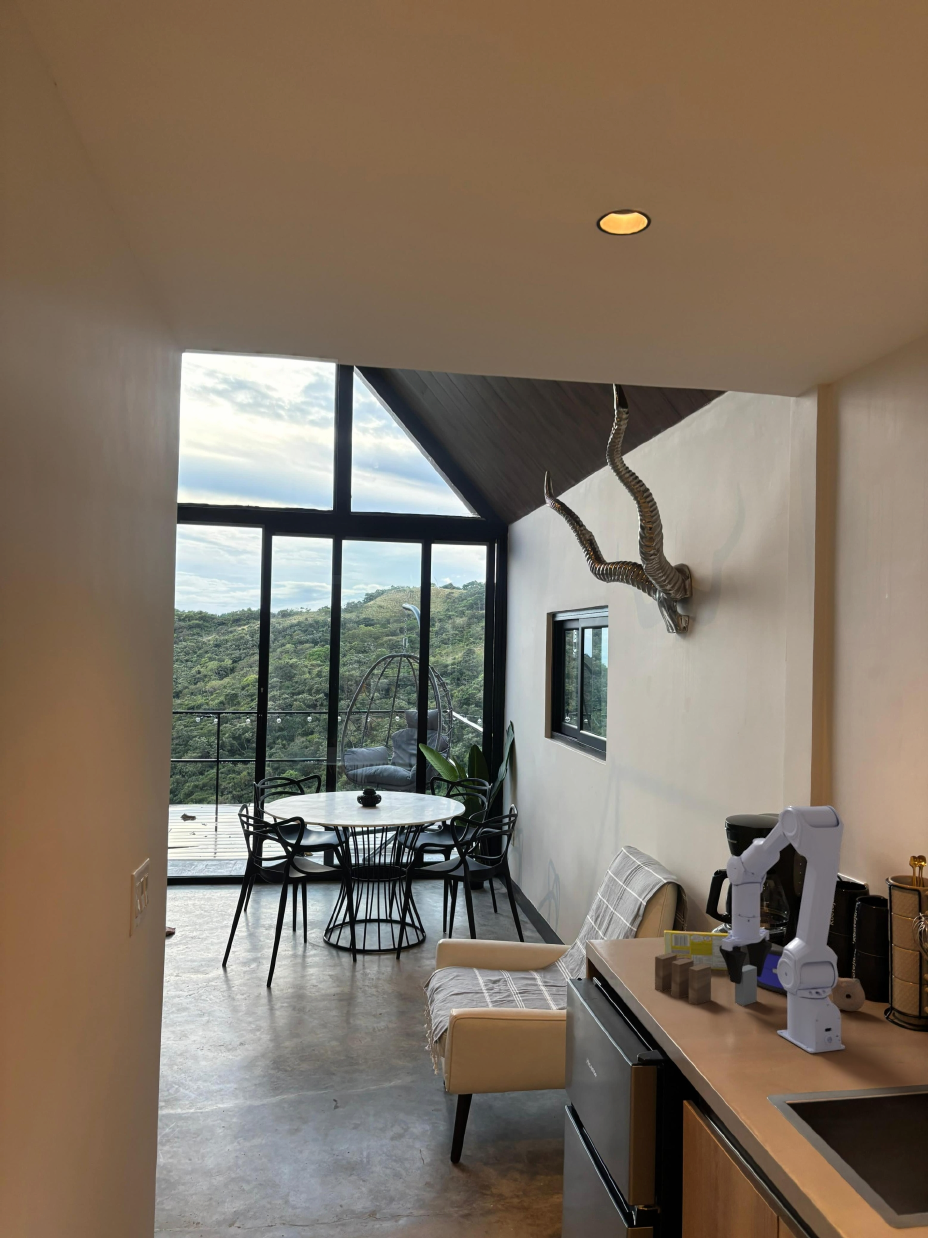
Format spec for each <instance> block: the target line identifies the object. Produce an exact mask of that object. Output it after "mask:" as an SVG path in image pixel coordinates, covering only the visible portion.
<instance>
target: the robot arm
mask: <svg viewBox="0 0 928 1238" xmlns="http://www.w3.org/2000/svg"><path fill="white" fill-rule="evenodd" d="M844 827H845V825H844V822H843V820H842V818H841V817H840V814H839V812H838V811H837V809H835V808H834V807H833V806H831V805H822V806H819V805H817V806H793V805H788V806H785V808H783V809H782V811H781V812H779V814H778V822H777V824H776V825H775V826H774V828H772V830H771V831H770V833H769V834H768V835H767V836H766V837H765V838H764V837H760V838H759V837H758V838H754V839H753V840H752V843H751V844H750V846H749V847H748V848H747V849H746V850H744V851H743V852H742V854H741V855H740V856H735V855H734V856H730V857H729V859H728V861H727V862H726V874H727V878H728V880H729V882H730V883H731V929H730V930H728V931H727V933H728V934H729V935H728V936H727V937H726V938H725V939H722V945H721V946H719V951H720V952H721V954H722V956H723V958H724V960H725V963H726V966H727V969H728V970H727V973H728V976H729V977H728V978H729V981H730V982H731V983H733V984H735V983H736V984H740V983H741V979H742V968H743V963H744V960H745V957H746V955H747V953H746V952H742V951H741V946H743V945H746V946H747V950H748V954H749V964H750V965H751V966H754V967H757V977H761V975H762V971H763V967H764V963H765V960H766V957H767V955H768V953H769V951H770V950H771V948H772V942H770V941H768V940H770V930H767V929H764V928H761V893H763V891H764V889H763V887H764V883H765V881H766V878H767V872H768V871H769V870H770V869H771V868H772V867H773V866H774V865H775V864H776V863H777V862H779V860H780V857H781V856H780V855H781V854H780V851H782V850H783V849H784V848H786V847H787V846H789V845H790V844H791V845H792V846H793V848H794V849H795V850H796V852H797V853H798V854H799V855H801V856H802V857H805V859H806V862H807V863H806V867H805V873H804V874H805V875H804V882H803V888H802V895H801V902H800V909H799V914H798V921H797V928H796V935H795V937H794V938H793V939H792V940H791V941H790V942H789V943H788V944H787V945H785V946H783V947H784V949H783V954H782V957H781V958H780V960H779V962H778V966H777V974H778V978H779V981H780V983H781V984H782V986H783V987H784V989H785V990H787V994H786V995H787V999H786V1000H787V1004H786V1005H787V1007H786V1008H787V1009H786V1010H787V1013H786V1014H787V1015H786V1016H787V1019H786V1020H787V1023H786V1024H787V1029H781V1030H777V1031H776V1032H777V1034H778V1035H779V1036H781V1037H783V1038H784V1039H785V1040H787V1041H789V1042H791V1043H793V1044H795V1045H796V1046H798V1047H799V1048H801V1049H803V1050H804V1051H806V1052H808V1053H810V1054H816V1053H823V1052H832V1051H837V1050H845V1049H846V1046H845V1045H844V1044H842V1015H841V1012H840V1008H838V1007H837V1006H836V1005H834V1004H833V1003H832V1000H831V999H830V997H829V995H832V993H831V989H832V988H834V987H835V986H836V984H837V980H838V978H839V973H838V972H839V971H838V968H837V963H838V955H837V954H836V953H835V951H834V950H833V949H832V948H831V947H829V945H827V943H828V938H829V937H828V936H829V931H830V924H831V919H832V918H831V917H832V911H833V905H834V899H835V893H836V892H835V891H836V885H837V879H838V873H839V867H840V859H841V857H840V852H841V846H842V841H843V834H844ZM767 941H768V942H767Z"/></svg>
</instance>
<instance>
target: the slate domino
mask: <svg viewBox="0 0 928 1238" xmlns="http://www.w3.org/2000/svg"><path fill="white" fill-rule="evenodd" d="M757 1001H758V985H757V967H754V966H751V965H746V966H743V968H742V979H741V983H740V984H736V983H734V1003H735V1004H736V1003H737V1004H736V1005H739V1004H740V1006H742V1005H743V1006H742V1007H745V1006H747V1005H750V1004H752V1003H755V1002H757Z"/></svg>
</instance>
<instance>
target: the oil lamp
mask: <svg viewBox="0 0 928 1238" xmlns="http://www.w3.org/2000/svg"><path fill="white" fill-rule="evenodd" d="M865 994H866V993H865V991H864V989H863V987H862V984H861V981H860V979H858V978H849V977H844V978H843V977H842V978H841V977H838V980H837V984H836V986H835V987H834V988H832V989H831V999H832V1000H831V1002H832V1003H833V1004H834V1005H836V1006H837V1007H838V1009H839V1010H840V1009H841V1010H844V1011H846V1012H855V1011H858V1010H860V1009H862V1007H863V1006H864V1004H865V1002H866V995H865Z"/></svg>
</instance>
